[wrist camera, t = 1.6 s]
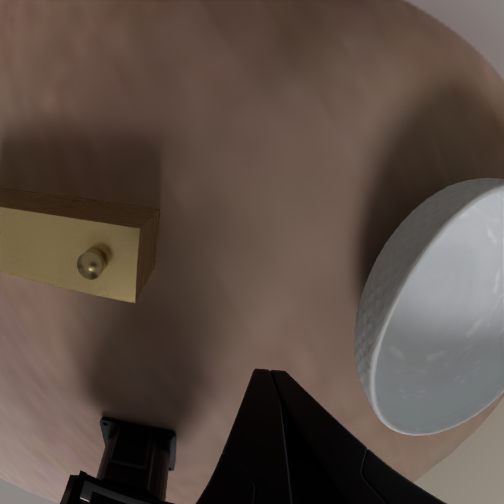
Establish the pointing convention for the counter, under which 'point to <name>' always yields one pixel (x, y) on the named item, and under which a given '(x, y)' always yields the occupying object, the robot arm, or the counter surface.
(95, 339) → the counter surface
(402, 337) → the cereal bowl
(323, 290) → the counter surface
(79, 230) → the brass block with pegs
